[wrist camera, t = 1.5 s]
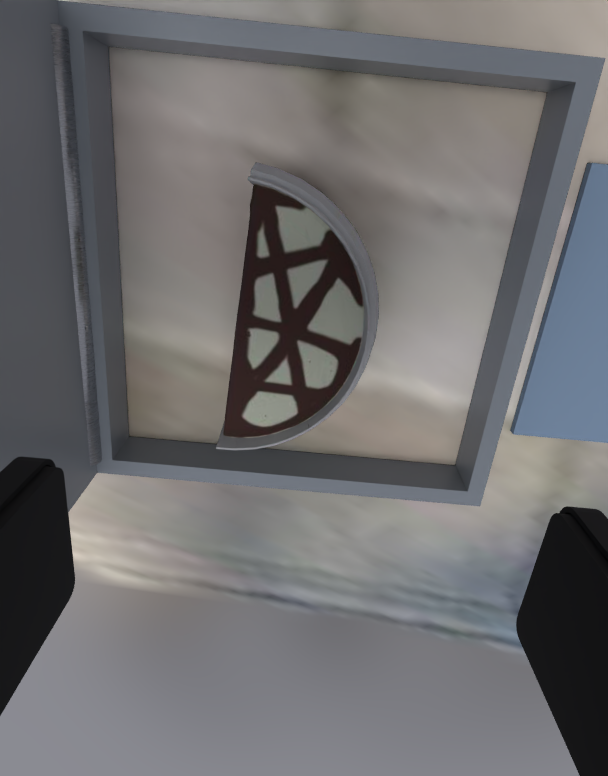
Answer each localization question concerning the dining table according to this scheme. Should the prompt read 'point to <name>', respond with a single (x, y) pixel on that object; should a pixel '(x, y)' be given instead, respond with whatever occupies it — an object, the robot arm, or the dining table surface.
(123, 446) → the case
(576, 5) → the dining table surface
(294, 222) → the food container
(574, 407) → the mat
